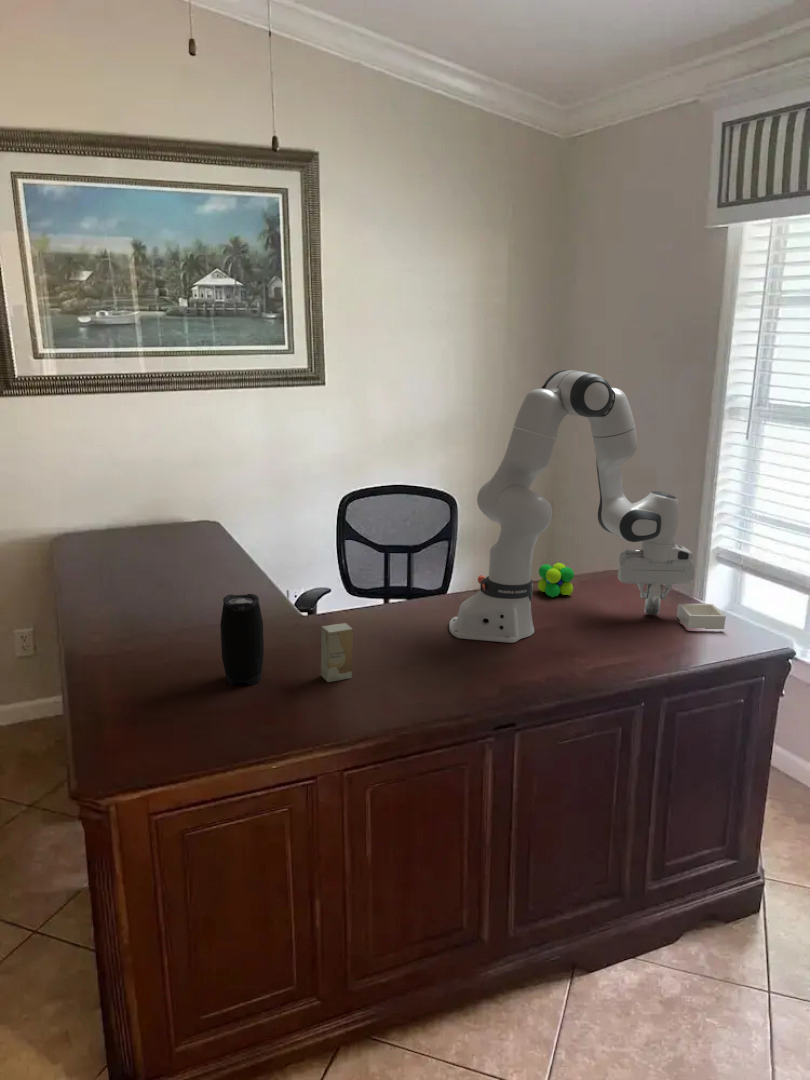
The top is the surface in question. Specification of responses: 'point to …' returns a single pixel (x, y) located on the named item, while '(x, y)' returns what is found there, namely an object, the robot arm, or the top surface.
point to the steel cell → (653, 598)
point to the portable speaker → (242, 639)
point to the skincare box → (336, 652)
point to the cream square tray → (701, 616)
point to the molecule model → (555, 579)
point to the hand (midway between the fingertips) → (653, 598)
